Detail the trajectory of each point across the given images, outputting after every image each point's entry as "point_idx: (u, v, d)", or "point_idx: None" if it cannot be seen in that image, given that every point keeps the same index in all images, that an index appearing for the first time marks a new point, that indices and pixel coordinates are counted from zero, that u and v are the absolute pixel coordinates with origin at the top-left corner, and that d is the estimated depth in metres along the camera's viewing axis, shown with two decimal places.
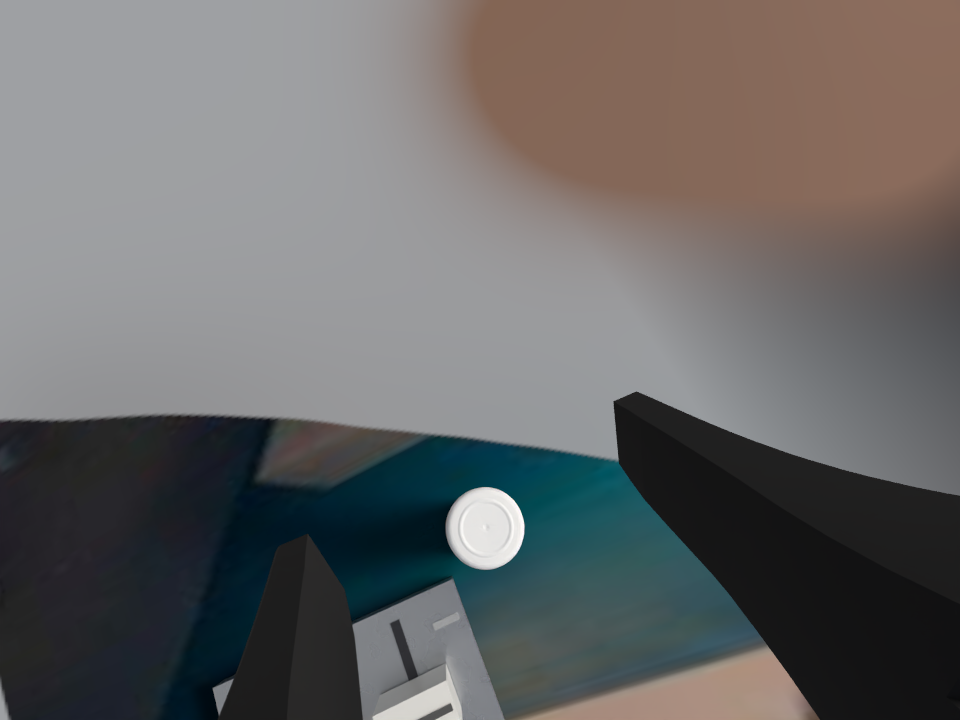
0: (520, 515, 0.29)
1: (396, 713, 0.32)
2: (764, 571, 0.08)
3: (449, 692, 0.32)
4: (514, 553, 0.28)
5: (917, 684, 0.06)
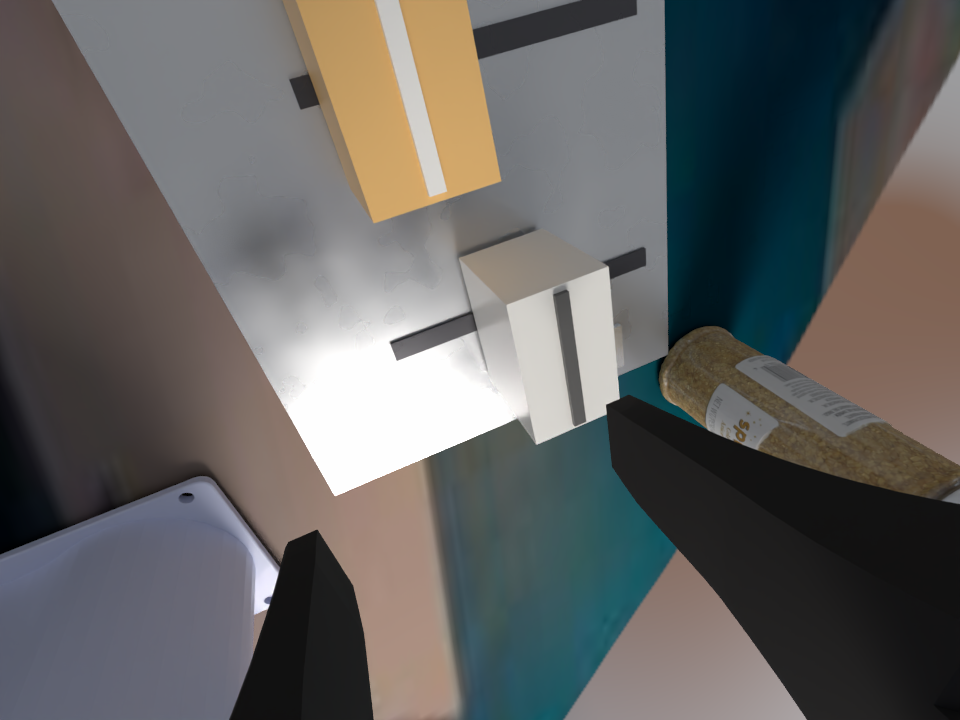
0: None
1: (598, 318, 0.14)
2: (754, 576, 0.08)
3: (599, 414, 0.16)
4: None
5: (905, 691, 0.06)
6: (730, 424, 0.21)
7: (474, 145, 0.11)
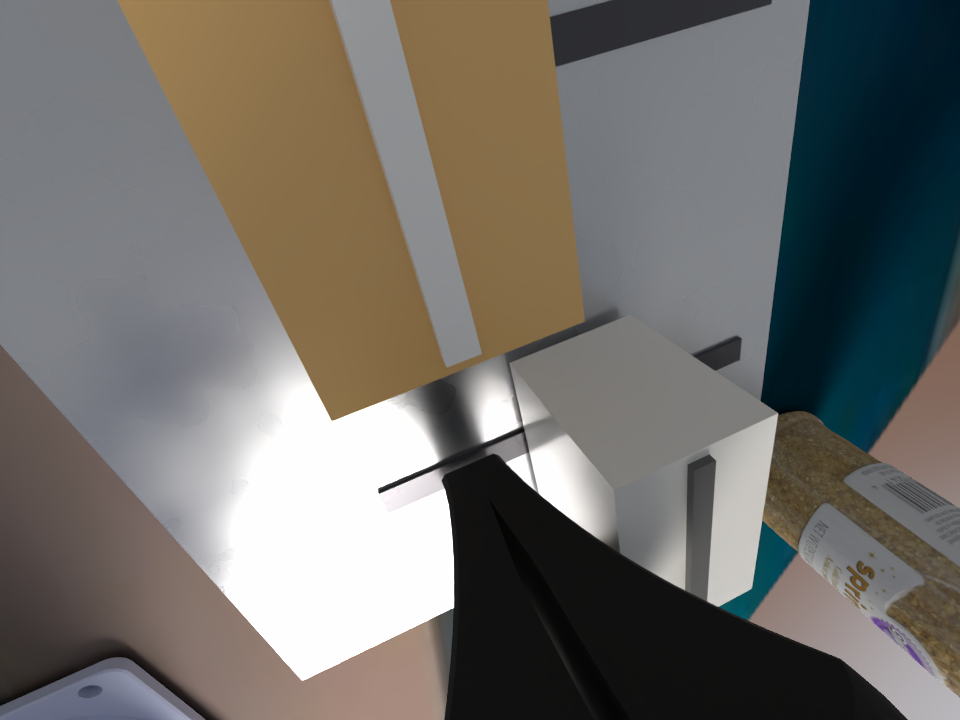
0: None
1: (747, 485, 0.09)
2: (577, 670, 0.08)
3: (722, 600, 0.11)
4: None
5: None
6: (841, 563, 0.15)
7: (539, 263, 0.05)
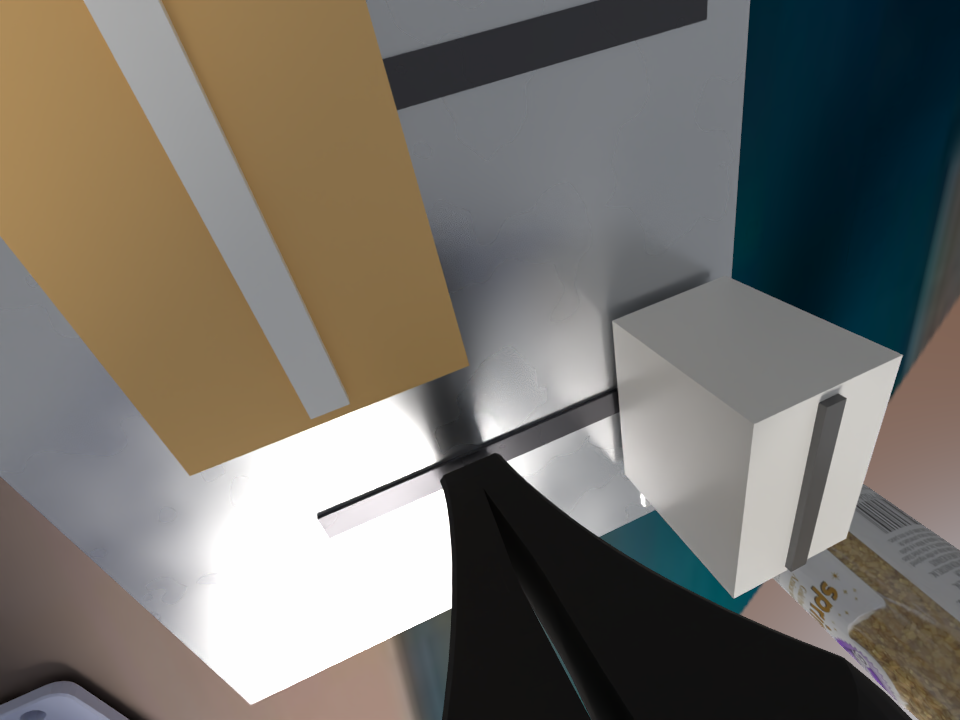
0: None
1: (863, 428, 0.09)
2: (579, 669, 0.08)
3: (819, 549, 0.11)
4: None
5: None
6: (806, 583, 0.15)
7: (407, 309, 0.05)
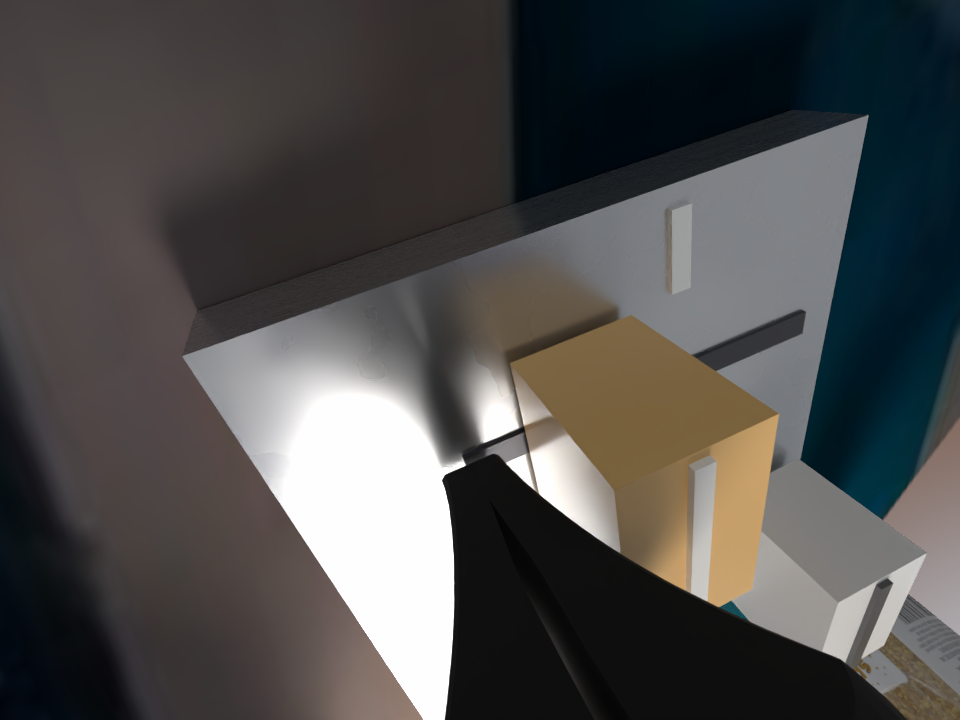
0: None
1: (900, 590, 0.14)
2: (577, 670, 0.08)
3: (865, 653, 0.16)
4: None
5: None
6: None
7: (737, 574, 0.10)
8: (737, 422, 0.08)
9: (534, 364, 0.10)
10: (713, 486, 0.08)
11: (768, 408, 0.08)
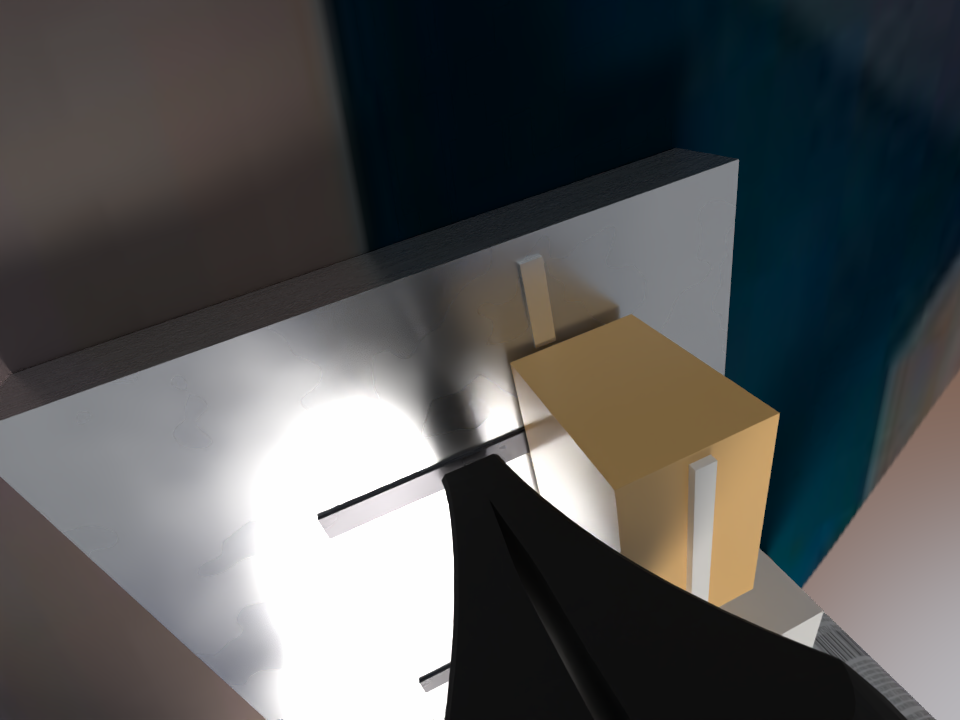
0: None
1: None
2: (577, 670, 0.08)
3: None
4: None
5: None
6: None
7: (738, 573, 0.10)
8: (738, 420, 0.08)
9: (534, 364, 0.10)
10: (713, 486, 0.08)
11: (769, 407, 0.08)
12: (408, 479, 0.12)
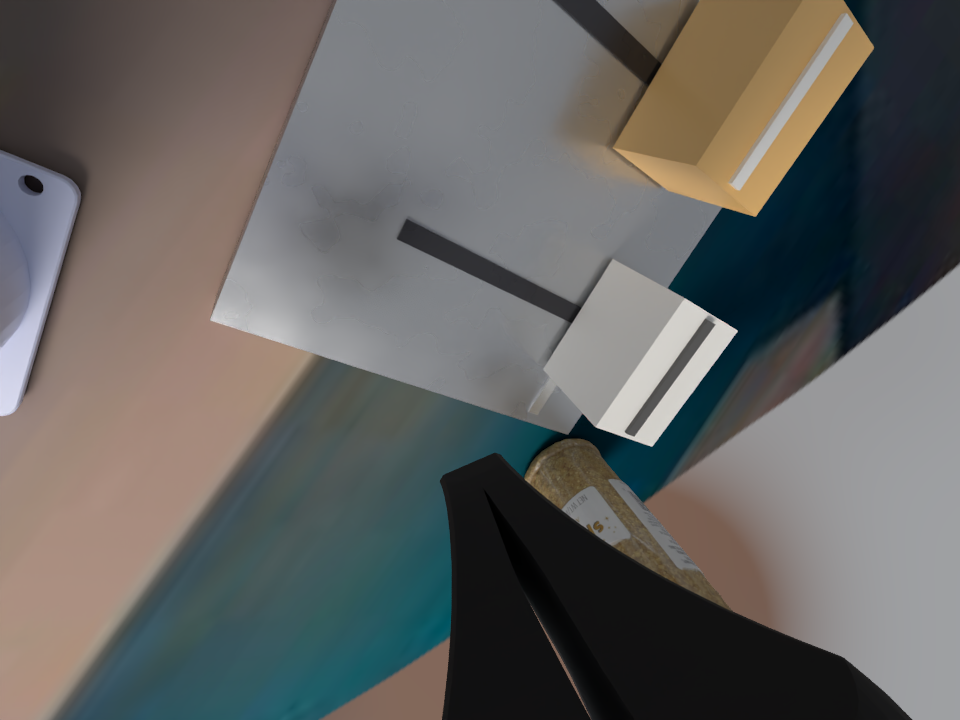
0: None
1: (704, 362, 0.17)
2: (579, 669, 0.08)
3: (639, 440, 0.18)
4: None
5: None
6: (584, 522, 0.21)
7: (767, 181, 0.14)
8: (857, 33, 0.13)
9: None
10: (837, 45, 0.13)
11: None
12: (595, 1, 0.14)
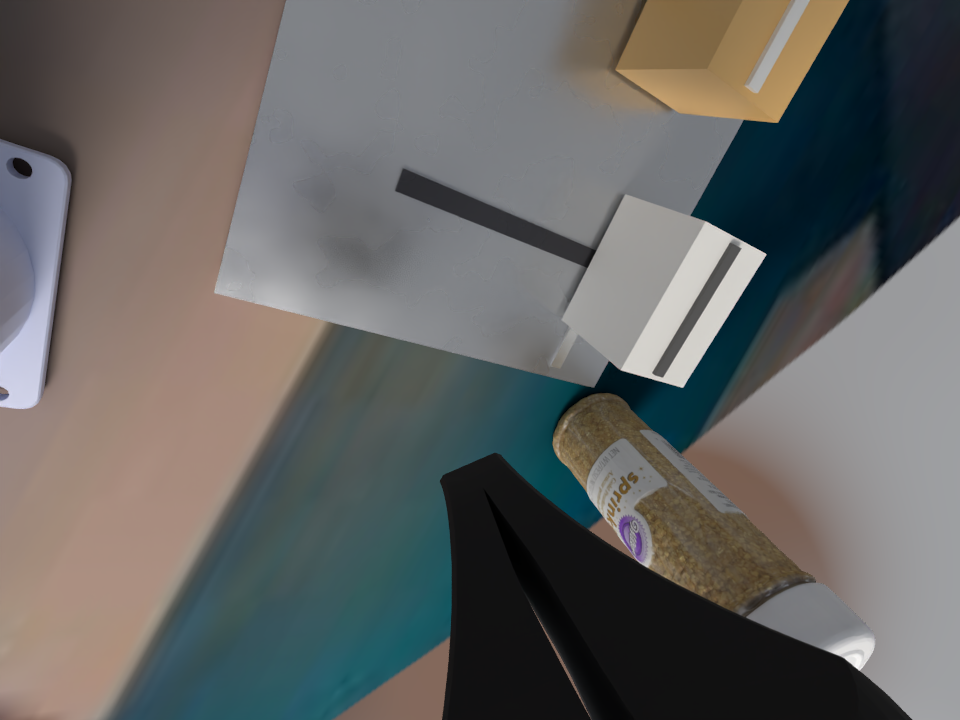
0: None
1: (732, 291, 0.16)
2: (579, 669, 0.08)
3: (669, 381, 0.17)
4: None
5: None
6: (618, 474, 0.21)
7: (788, 80, 0.13)
8: None
9: None
10: None
11: None
12: None
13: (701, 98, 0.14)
